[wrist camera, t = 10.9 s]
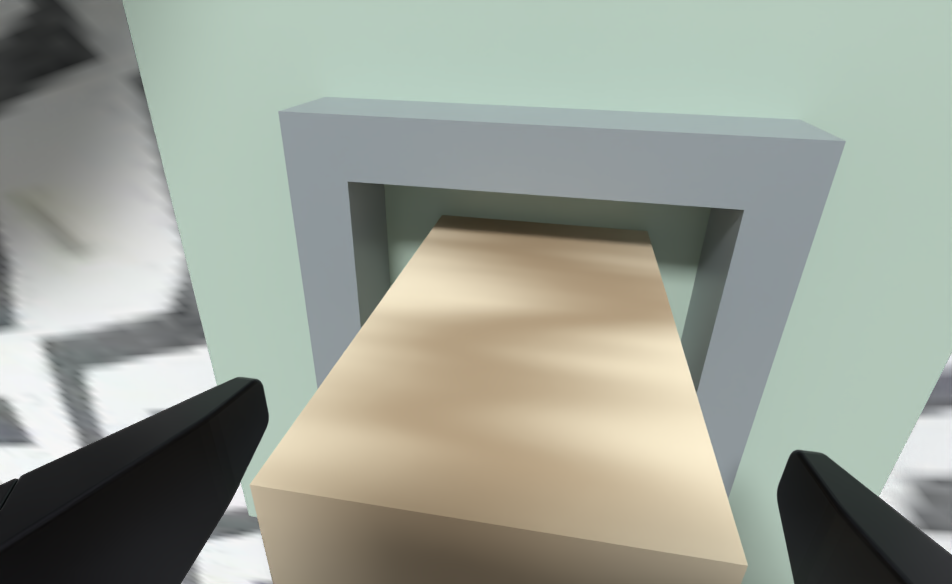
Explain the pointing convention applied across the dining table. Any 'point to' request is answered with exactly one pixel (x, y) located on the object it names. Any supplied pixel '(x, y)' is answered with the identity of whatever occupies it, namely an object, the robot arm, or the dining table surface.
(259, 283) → the socket board
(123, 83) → the dining table surface
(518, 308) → the birch peg
